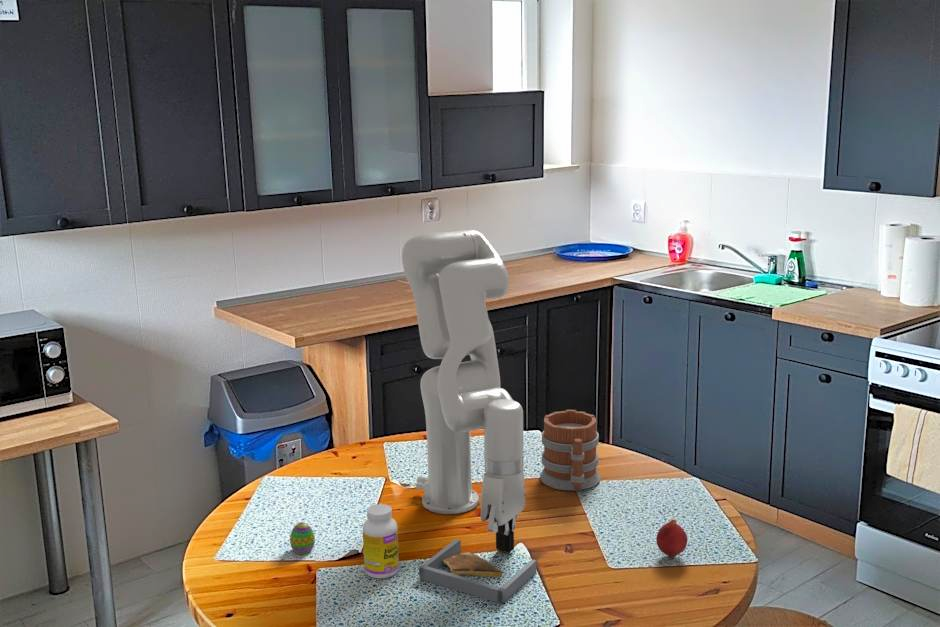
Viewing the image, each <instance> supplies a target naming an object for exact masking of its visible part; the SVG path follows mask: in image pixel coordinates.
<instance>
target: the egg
mask: <svg viewBox="0 0 940 627" xmlns="http://www.w3.org/2000/svg"><path fill="white" fill-rule="evenodd" d="M315 541H316V537H315V533H314V531H313V528H312V527H311V526H310V525H309V524H308V523H306V522H304V521H301V522H298V523H296V524H295V525H294V527H293V528H292V530H291V532H290V536H289V543H290V547H291V549H292V551H293V552H294V553H296V554H298V555H306V554H308V553H310V552H311V551H312V550H313V549H314V546H315V543H316V542H315Z"/></svg>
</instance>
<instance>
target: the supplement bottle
mask: <svg viewBox="0 0 940 627" xmlns="http://www.w3.org/2000/svg"><path fill="white" fill-rule="evenodd" d="M392 515H393V510H392V507H391V506H390V505H388V504H384V503H382V504H380V503H377V504H373V505H370V506H369V507H368V508H367V509H366V517H367V520H365V521H364V522H363V524H362V543H363V544H362V546H363V549H362V550H363V567H364V573H365V574H366V575H367V576H369V577H371V578H373V579H387V578H390V577H393V576H395V575H396V574H397V573H398V571H399V569H400V559H399V558H400V557H399V554H400V553H399V552H400V551H399V532H398V530H399V529H398V528H399V526H398V523H397V521H396V519H394V518H393V517H392Z"/></svg>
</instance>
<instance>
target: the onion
mask: <svg viewBox="0 0 940 627" xmlns="http://www.w3.org/2000/svg"><path fill="white" fill-rule="evenodd" d="M655 540H656V545H657V547H658V550H659V551H661V552H662V554H664V555H666V556H668V557H669V558H671V559H673V558H676V556H678V555H680V554H681V553H683V552H684V551H685V550H686V548H687V545H688V536H687V533H686V531H685V530H684V528H683V527H682V526H681V525H680V524H679V523H677V520H676V518H671V519H670V520H669V521H668V522H667V523H664V524H663V525H662V526H661V527H659V529H658V531H657V533H656V538H655Z"/></svg>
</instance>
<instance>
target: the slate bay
mask: <svg viewBox="0 0 940 627" xmlns="http://www.w3.org/2000/svg"><path fill="white" fill-rule="evenodd" d="M461 542H462V541H461V539H459V538H455V539H454V540H453V541H451V542H450V543H449V544H448V545H446V546H445V547H444V548H442V549H441V550H440V551H437V553H436V554H434V555H433V556H432V557H430V558H429V559H428V560H426V561H425V562H424V563H423V564H421V565H420V566H418V575H419V580H421V581H425V582H428V583H431V584H434V585H438V586H441V587H445V588H446V589H447V588H448V589H450V590H454V591H457V592H460V593H464V594H466V595H471V596H474V597H478V598H481V599H484V600H488V601H490V602H494V603H497V604H500V605H504V603H506V601H508V600H509V598H511V597H512V596H513V595H514V594H515V593H517V591H518V590H520V588H522V586H524V585H525V584H527V582H528V581H529V580H530V579H532V578H533V576H534V575H536V574H537V573H538V572H537V570H538V569H537V566H538V565H537V564H538V563H537V561H538V560H537V559H530V560H529V561H528V562H527V563H526V564H525V565H523V567H521V569H519V570H518V571H517V572H516V573H515V574H514V575H512V576H511V577H510V578H509V579H508V580H507V581H506V582H505V583H503V585H502V586H496V585H493V584H490V583H487V582H486V583H485V582H482V581H479V580H475V579H472V578H469V577H466V576H463V575H455V574H452V573H451V572H448V571H444V570H441V569H440V568H442V567H443V566H444V565H445V564H444V563H443V560H444V559H446V558H449V557H452V556H454V555H457V554H460V553H462V552H461V550H462V549H461V548H462V546H461V544H462V543H461Z"/></svg>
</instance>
